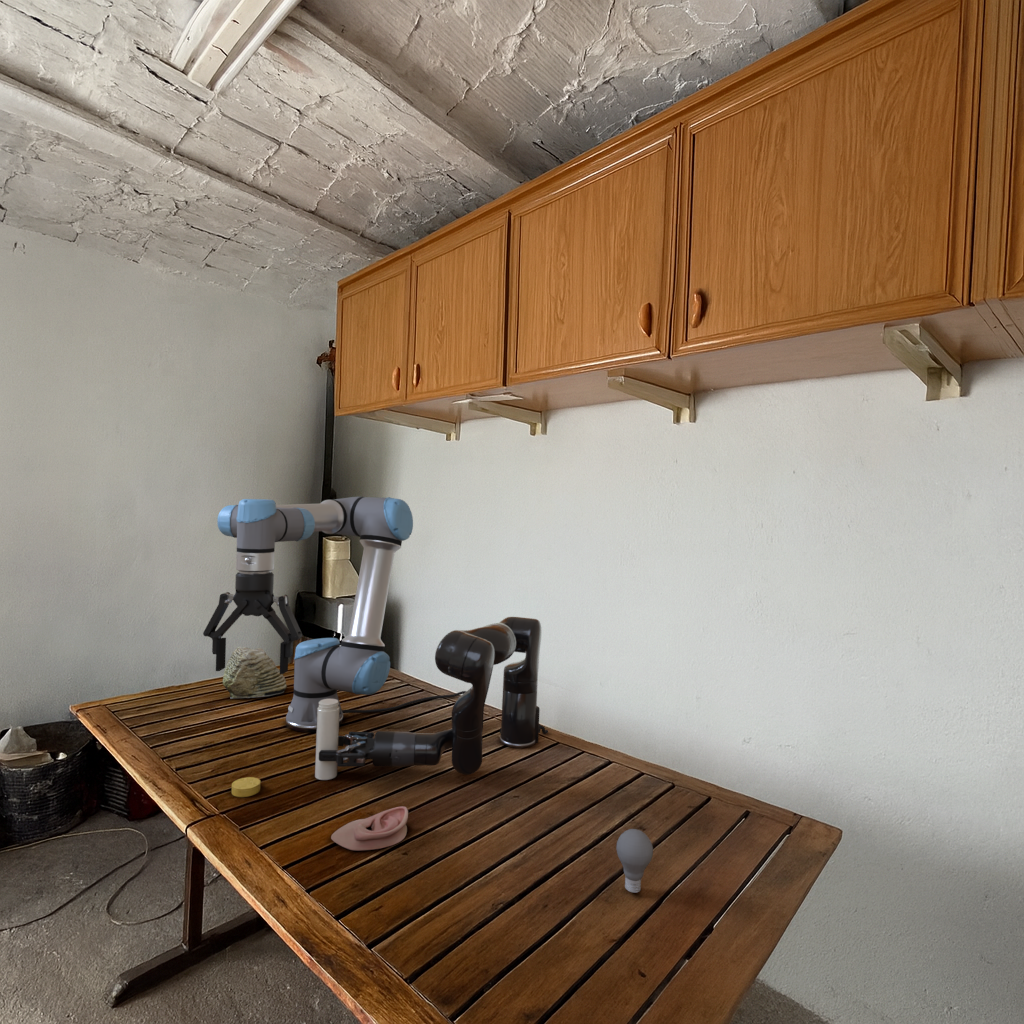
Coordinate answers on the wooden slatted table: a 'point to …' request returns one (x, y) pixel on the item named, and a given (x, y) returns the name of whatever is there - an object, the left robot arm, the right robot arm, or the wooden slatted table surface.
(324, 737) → the jar
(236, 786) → the lid
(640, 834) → the light bulb
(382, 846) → the anatomical model
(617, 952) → the wooden slatted table surface
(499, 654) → the right robot arm
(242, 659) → the fossil
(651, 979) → the wooden slatted table surface
